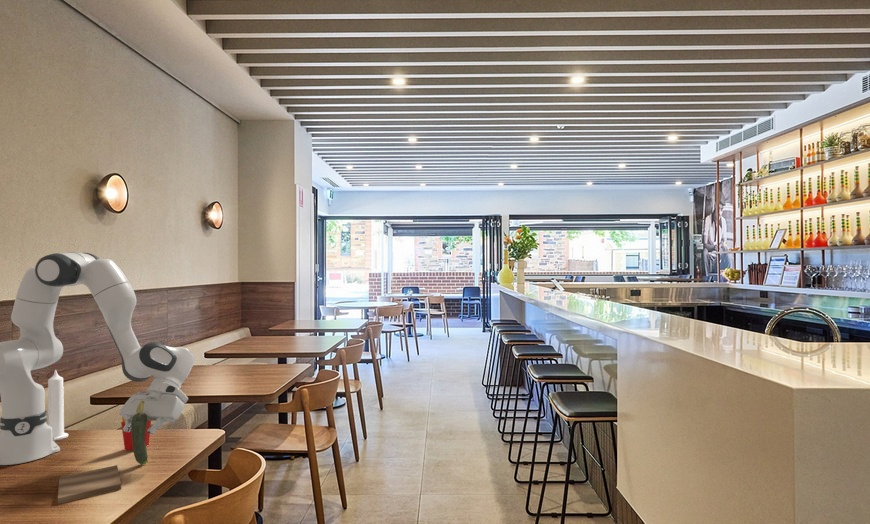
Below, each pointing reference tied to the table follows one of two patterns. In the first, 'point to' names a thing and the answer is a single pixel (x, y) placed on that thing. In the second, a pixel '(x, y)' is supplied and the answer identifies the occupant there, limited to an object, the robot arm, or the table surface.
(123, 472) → the table surface
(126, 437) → the french fries
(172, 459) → the table surface
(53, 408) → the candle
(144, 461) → the vegetable
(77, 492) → the cutting board
